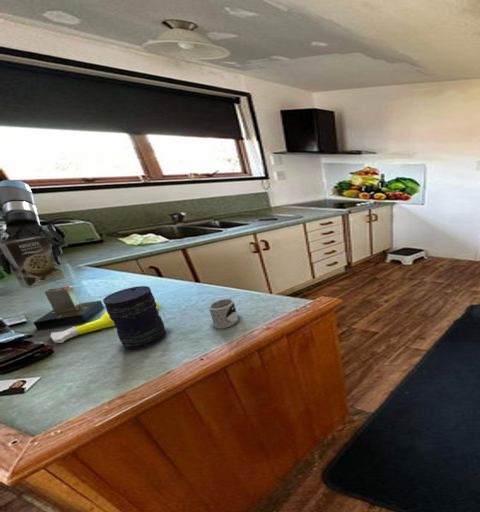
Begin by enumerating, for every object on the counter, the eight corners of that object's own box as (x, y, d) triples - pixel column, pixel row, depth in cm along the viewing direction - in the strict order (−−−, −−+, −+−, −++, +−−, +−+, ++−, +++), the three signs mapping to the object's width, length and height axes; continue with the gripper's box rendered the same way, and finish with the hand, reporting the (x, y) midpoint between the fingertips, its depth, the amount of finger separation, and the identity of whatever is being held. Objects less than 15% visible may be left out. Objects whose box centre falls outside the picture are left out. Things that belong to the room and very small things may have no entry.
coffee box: (30, 288, 92) (6, 244, 87) (20, 286, 94) (-5, 242, 89) (66, 278, 101) (46, 236, 95) (56, 276, 103) (36, 235, 97)
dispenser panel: (37, 330, 85) (32, 321, 84) (61, 314, 94) (57, 306, 93) (85, 322, 89) (81, 314, 88) (104, 307, 98) (100, 299, 97)
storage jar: (157, 346, 75) (139, 299, 70) (115, 354, 73) (92, 306, 68) (172, 326, 84) (157, 283, 79) (135, 333, 82) (116, 289, 77)
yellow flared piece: (161, 309, 95) (58, 350, 76) (150, 301, 101) (51, 337, 82) (158, 302, 94) (52, 341, 75) (147, 294, 100) (46, 329, 81)
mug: (233, 326, 83) (228, 308, 81) (210, 329, 82) (204, 310, 80) (244, 310, 92) (239, 292, 90) (223, 312, 92) (218, 294, 89)
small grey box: (55, 313, 89) (43, 291, 86) (61, 310, 91) (49, 288, 88) (77, 310, 90) (66, 288, 87) (82, 307, 92) (71, 285, 89)
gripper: (71, 217, 109) (85, 263, 103) (-26, 229, 94) (-15, 283, 89) (64, 205, 103) (78, 253, 98) (-40, 216, 88) (-30, 272, 83)
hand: (33, 267), depth 93 cm, fingers closed on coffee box, 10 cm apart
